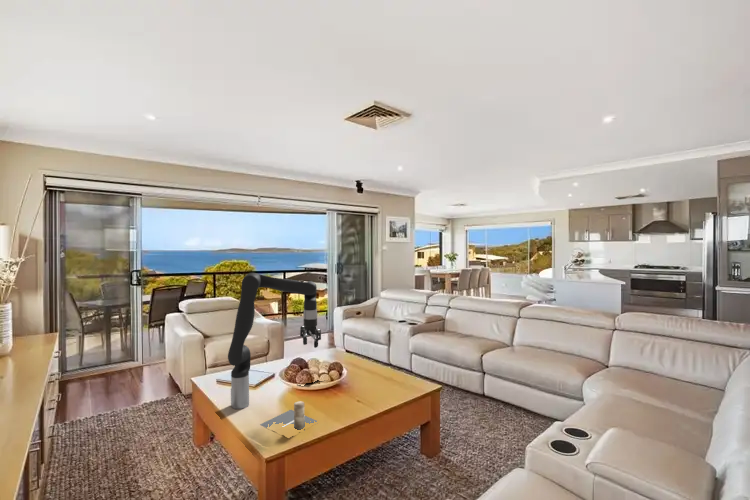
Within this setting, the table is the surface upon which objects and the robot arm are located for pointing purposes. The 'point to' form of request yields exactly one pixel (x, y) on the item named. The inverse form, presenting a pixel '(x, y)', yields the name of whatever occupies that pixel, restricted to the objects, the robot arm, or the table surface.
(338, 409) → the table surface
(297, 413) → the birch cylinder
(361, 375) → the table surface
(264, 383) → the table surface
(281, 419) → the mat
